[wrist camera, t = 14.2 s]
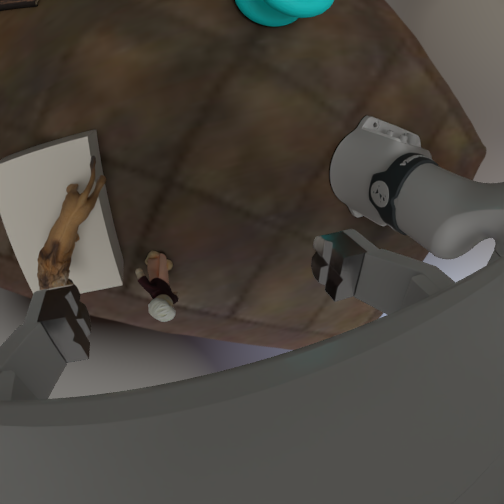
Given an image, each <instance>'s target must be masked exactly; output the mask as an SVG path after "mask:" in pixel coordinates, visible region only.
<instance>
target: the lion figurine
mask: <svg viewBox="0 0 504 504" xmlns="http://www.w3.org/2000/svg"><path fill="white" fill-rule="evenodd" d="M95 164H96V157H95V156H92V157H91V162H90V169H91V177H90V180H89V183H88V185H87V187H86V188H85V190H84V191H83V193H81V194H79V192H78V191H77V190H78V187H79V185H78V184H70V185H68V186H67V188H66V192H67V193H68V194H67V195H66V197H65V200H64V201H63V204H62V209H61V213H60V216H59V217H58V219H57V220H56V222H55V224H54V225H53V227H52V228H51V230H50V233H49V236H48V239H47V241H46V242H45V244H44V247H43V248H42V249H41V250H40V252H39V256H38V259H37V261H38V273H37V277H38V281H39V287H40V288H39V290H43V289H49V288H54V287H60V286H66V285H71V284H74V283H73V281H72V280H71V279H69V278H68V277H69V273H70V270H69V267H70V265H71V256H72V254H73V250H74V248H75V242H77V241H78V240H79V239H80V238H79V235H78V233H77V231H78V227H79V225H80V224H81V223H82V222H83V221H85V220H86V219H87V217H88V216H89V214H90V212H91V211H92V210H93V208H94V206H95V204H96V201H97V198H98V196H99V193H100V191H101V189H102V187H103V186H104V184H105V183H106V177H105V176H103V175H100V176H99V177H98V178H97V180H96V186H95V189H94V191H93V193H92V194H91V195H90V196H89V193H90V191H91V189H92V187H93V184H94V181H95ZM88 196H89V197H88ZM74 285H75V284H74Z"/></svg>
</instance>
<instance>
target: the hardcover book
mask: <svg viewBox="0 0 504 504" xmlns="http://www.w3.org/2000/svg"><path fill="white" fill-rule="evenodd" d="M37 2H38V0H0V11H2V10H9V9H16V8H25V7H37V6H38V5H37Z"/></svg>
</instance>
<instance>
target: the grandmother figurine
mask: <svg viewBox="0 0 504 504" xmlns="http://www.w3.org/2000/svg"><path fill="white" fill-rule="evenodd" d="M145 263H146V264H147V265H148V267H147V269H148V275H149V280H148V278H147V277H146V276H145V275H144V273H143V271H142V269H141V268H137V269H136V271H135V273H136V275H137V277H138V282H139V283H140V284H141V286H142V287H143V288H144V289H145V290H146V291H147V292H148V293H150V295H151V297H152V298H153V300H152V301H151V302H150V304H148V307H149V313H150V314H151V315H152V316H153V317H154V318H155V319H157V320H159V321H162V322H166V321H169V320H171V319H173V318H174V316H175V313H176V312H175V309H174V308H173V304H175V303H176V302H177V301H178V297H179V293H178V292H173V293H172V291H171V288H170V285H169V279H168V270H170V269H171V268H172V267H173V263H172V262H171V261H170V260H168V259H166V256H165V255H164V254H162V253H158V252H157V251H151V252H150V253H149V254H148V256H147V258H146V260H145Z"/></svg>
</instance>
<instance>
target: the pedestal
mask: <svg viewBox="0 0 504 504" xmlns="http://www.w3.org/2000/svg"><path fill="white" fill-rule="evenodd" d="M92 156H95V157H96V164H95V181H94V184H93V187H92V189H91V191H90V193H89V196H90V195H91V194H92V193H93V191H94V189H95V186H96V180H97V178H98V177H99V176H100V175H103V170H102V164H101V158H100V152H99V145H98V138H97V131H96V129H95V130H90V131H86V132H82V133H79V134H75V135H71V136H67V137H64V138H60V139H57V140H53V141H50V142H47V143H44V144H41V145H37V146H34V147H31V148H28V149H26V150H23V151H20V152H17V153H14V154H12V155H9V156H7V157H5V158H3V159H2V160H0V214H1V217H2V220H3V223H4V226H5V229H6V232H7V234H8V237H9V240H10V242H11V245H12V247H13V250H14V252H15V255H16V257H17V260H18V262H19V264H20V267H21V269H22V271H23V273H24V275H25V278H26V280H27V282H28V284H29V286H30V288H31V290H32V292H33V294H34V292H36V291H39V288H40V287H39V281H38V277H37V273H38V261H37V259H38V256H39V252H40V250H41V249H42V248H43V247H44V244H45V242H46V241H47V239H48V236H49V233H50V230H51V228H52V227H53V225H54V224H55V222H56V220H57V219H58V217H59V216H60V213H61V209H62V204H63V201H64V200H65V197H66V195H67V194H68V193H67V192H66V188H67V186H68V185H70V184H78V185H79V187H78V190H77V191H78V192H79V194H81V193H83V191H84V190H85V188H86V187H87V185H88V183H89V180H90V177H91V169H90V162H91V157H92ZM103 176H104V175H103ZM89 196H88V197H89ZM77 233H78V235H79V238H80V239H79V240H78V241H77V242H75V248H74V250H73V254H72V256H71V265H70V267H69V270H70V273H69V277H68V278H69V279H71V280H72V281H73V283H74V284H75V285H76V286H77V288H78V290H79V292H80V293H85V292H90V291H95V290H100V289H105V288H110V287H115V286H120V285H123V266H124V260H123V257H122V253H121V249H120V246H119V242H118V238H117V234H116V230H115V226H114V222H113V218H112V214H111V209H110V205H109V200H108V195H107V191H106V186H105V184H104V186H103V187H102V189H101V191H100V193H99V196H98V198H97V201H96V204H95V206H94V208H93V210H92V211H91V212H90V214H89V216H88V217H87V219H86V220H85V221H83V222H82V223H81V224H80V225H79V227H78V231H77Z"/></svg>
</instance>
